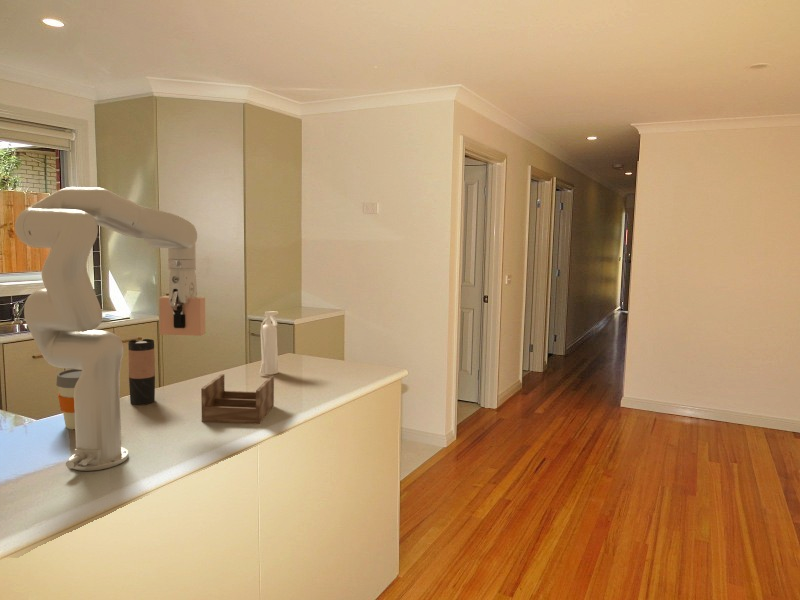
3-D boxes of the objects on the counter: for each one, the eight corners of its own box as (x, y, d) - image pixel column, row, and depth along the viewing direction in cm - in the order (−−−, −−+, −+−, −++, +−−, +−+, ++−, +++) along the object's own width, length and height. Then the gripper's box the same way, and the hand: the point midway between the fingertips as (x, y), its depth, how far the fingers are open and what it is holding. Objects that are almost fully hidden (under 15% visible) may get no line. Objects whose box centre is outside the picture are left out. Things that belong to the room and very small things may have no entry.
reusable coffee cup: (119, 420, 159) (117, 369, 158) (83, 434, 147) (81, 380, 146) (84, 414, 163) (83, 365, 161) (46, 428, 151) (44, 375, 149)
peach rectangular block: (200, 335, 161) (200, 298, 160) (159, 334, 161) (159, 297, 160) (205, 333, 165) (205, 297, 164) (165, 332, 165) (165, 295, 164)
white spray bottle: (251, 375, 214) (251, 312, 211) (270, 369, 225) (270, 309, 222) (265, 377, 212) (266, 314, 209) (284, 371, 223) (284, 310, 220)
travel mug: (145, 406, 172) (144, 344, 170) (124, 404, 174) (122, 342, 172) (160, 399, 180) (159, 339, 178) (139, 397, 181) (138, 338, 179)
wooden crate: (259, 423, 160) (259, 390, 159) (201, 421, 160) (201, 388, 159) (273, 406, 177) (273, 375, 176) (221, 404, 177) (221, 374, 176)
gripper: (183, 267, 152) (184, 331, 154) (204, 264, 169) (205, 322, 171) (156, 266, 152) (157, 331, 154) (180, 263, 169) (181, 321, 171)
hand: (182, 325), depth 163 cm, fingers closed on peach rectangular block, 4 cm apart
